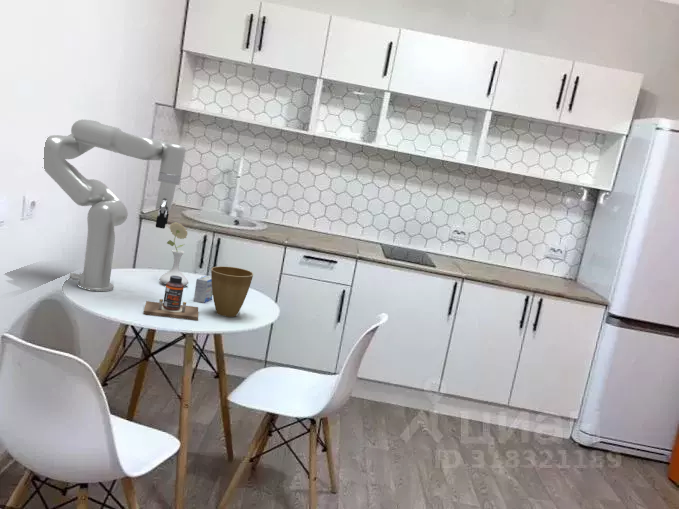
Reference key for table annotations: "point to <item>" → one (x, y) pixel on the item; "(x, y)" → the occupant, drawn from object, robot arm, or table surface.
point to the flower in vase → (176, 254)
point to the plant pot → (229, 289)
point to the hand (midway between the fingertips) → (161, 225)
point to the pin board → (171, 311)
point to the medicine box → (203, 289)
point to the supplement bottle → (173, 293)
